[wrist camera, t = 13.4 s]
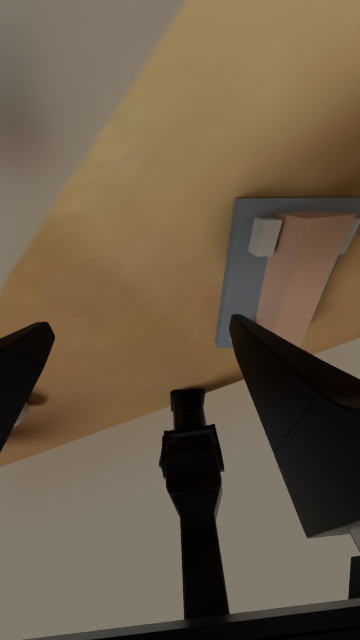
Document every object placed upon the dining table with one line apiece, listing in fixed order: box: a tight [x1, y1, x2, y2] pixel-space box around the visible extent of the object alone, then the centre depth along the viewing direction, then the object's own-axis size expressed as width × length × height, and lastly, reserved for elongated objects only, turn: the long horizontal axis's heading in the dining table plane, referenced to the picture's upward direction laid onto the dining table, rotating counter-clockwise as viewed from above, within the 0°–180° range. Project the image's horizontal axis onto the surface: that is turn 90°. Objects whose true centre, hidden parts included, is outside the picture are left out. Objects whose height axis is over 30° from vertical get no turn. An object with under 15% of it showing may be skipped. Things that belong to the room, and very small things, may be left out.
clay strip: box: [255, 210, 355, 348], centre depth 20 cm, size 16×4×4 cm, turn 4°
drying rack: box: [215, 197, 360, 348], centre depth 21 cm, size 18×12×4 cm, turn 0°
